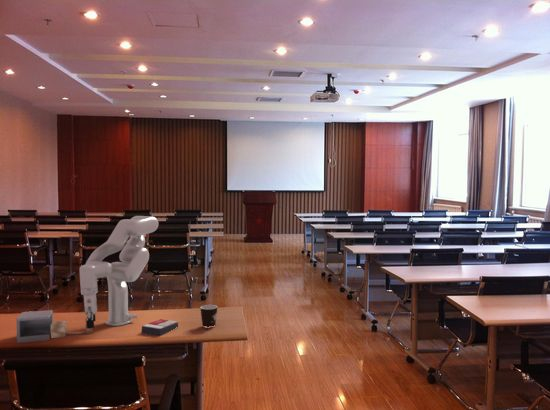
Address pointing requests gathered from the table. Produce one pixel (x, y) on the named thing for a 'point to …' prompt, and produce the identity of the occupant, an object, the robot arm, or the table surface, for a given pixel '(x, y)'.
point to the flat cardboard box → (159, 327)
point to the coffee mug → (208, 315)
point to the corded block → (64, 329)
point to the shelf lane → (34, 326)
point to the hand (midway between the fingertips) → (91, 324)
